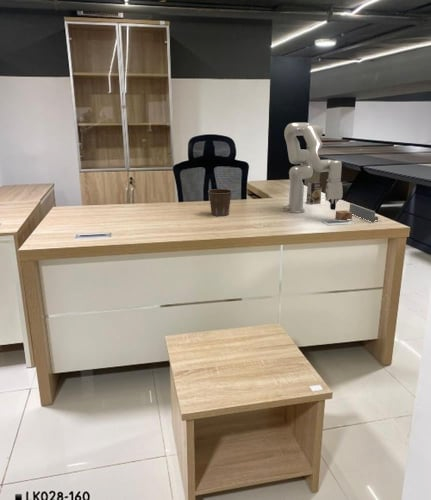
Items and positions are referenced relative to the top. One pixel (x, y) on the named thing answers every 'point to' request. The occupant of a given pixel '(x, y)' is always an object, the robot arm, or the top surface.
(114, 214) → the top surface
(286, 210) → the robot arm
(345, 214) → the walnut block
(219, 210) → the plant pot
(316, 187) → the coffee box
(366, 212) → the board
